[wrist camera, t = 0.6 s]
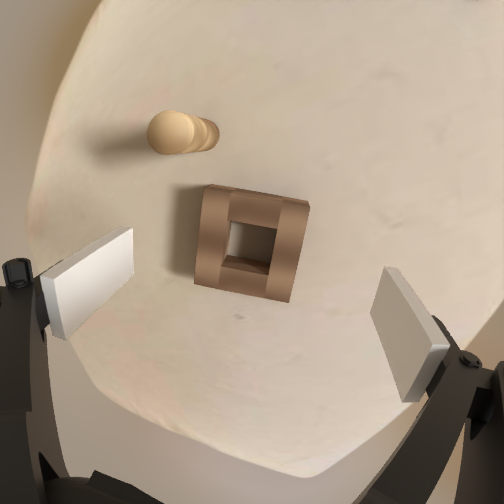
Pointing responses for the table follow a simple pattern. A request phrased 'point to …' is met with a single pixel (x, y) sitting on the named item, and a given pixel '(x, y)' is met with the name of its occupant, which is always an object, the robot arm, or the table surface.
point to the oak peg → (181, 133)
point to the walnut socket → (241, 269)
